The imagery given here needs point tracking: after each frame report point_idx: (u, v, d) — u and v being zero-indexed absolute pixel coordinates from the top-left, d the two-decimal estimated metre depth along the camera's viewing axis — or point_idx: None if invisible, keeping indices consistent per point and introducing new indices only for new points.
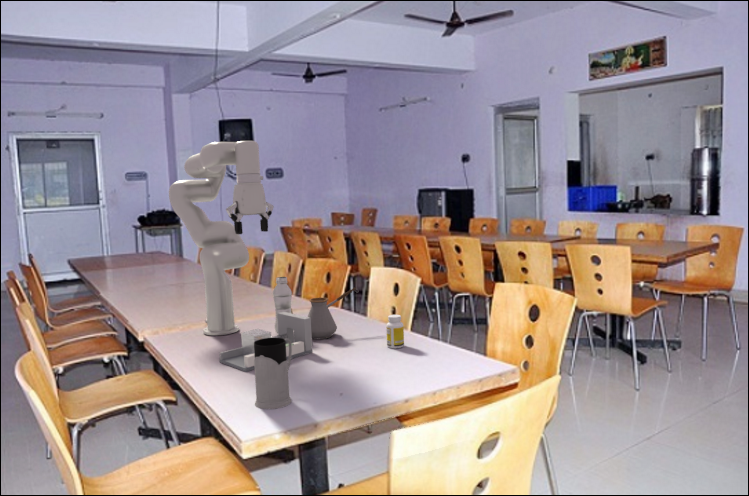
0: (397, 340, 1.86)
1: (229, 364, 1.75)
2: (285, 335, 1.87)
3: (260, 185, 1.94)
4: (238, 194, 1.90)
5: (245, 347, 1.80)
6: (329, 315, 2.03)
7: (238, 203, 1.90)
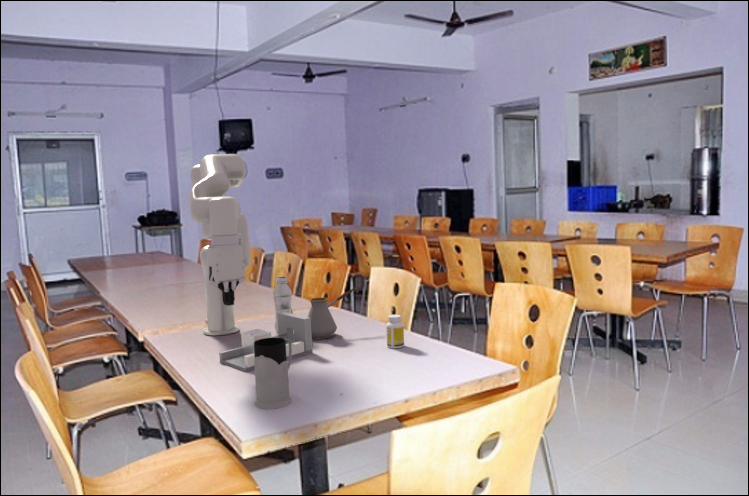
0: (397, 340, 1.86)
1: (229, 364, 1.75)
2: (285, 335, 1.87)
3: (238, 247, 1.71)
4: (212, 259, 1.67)
5: (245, 347, 1.80)
6: (329, 315, 2.03)
7: (212, 269, 1.67)
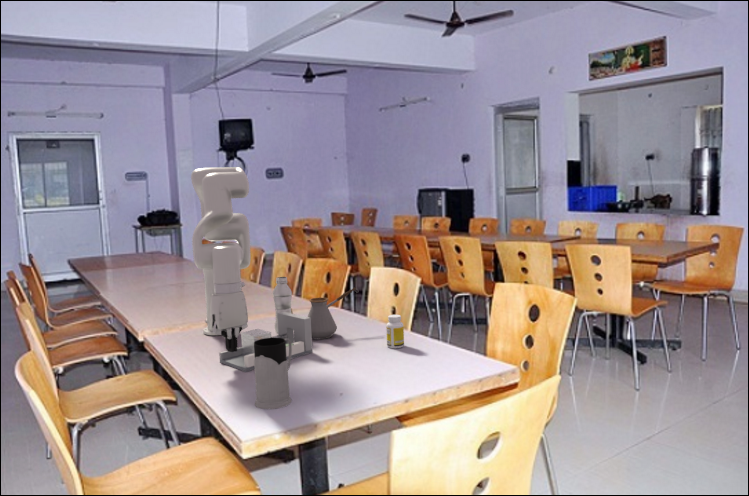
0: (397, 340, 1.86)
1: (229, 364, 1.75)
2: (285, 335, 1.87)
3: (241, 294, 1.73)
4: (215, 307, 1.69)
5: (245, 347, 1.80)
6: (329, 315, 2.03)
7: (215, 317, 1.69)
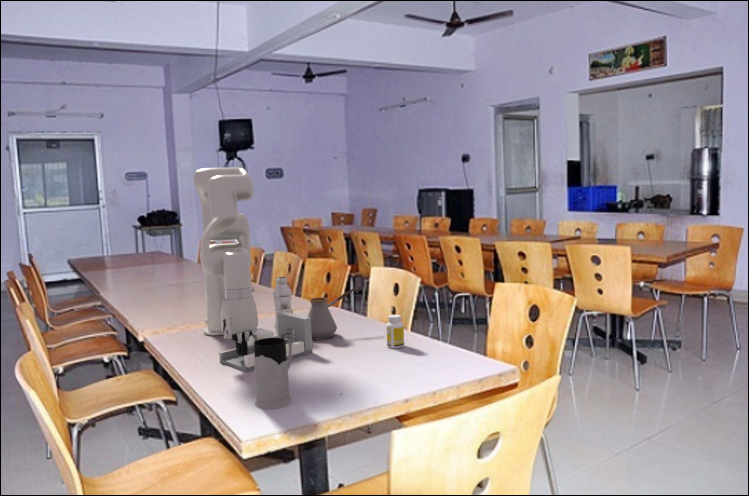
0: (397, 340, 1.86)
1: (229, 364, 1.75)
2: (288, 334, 1.87)
3: (251, 299, 1.75)
4: (226, 312, 1.71)
5: None
6: (329, 315, 2.03)
7: (226, 321, 1.72)
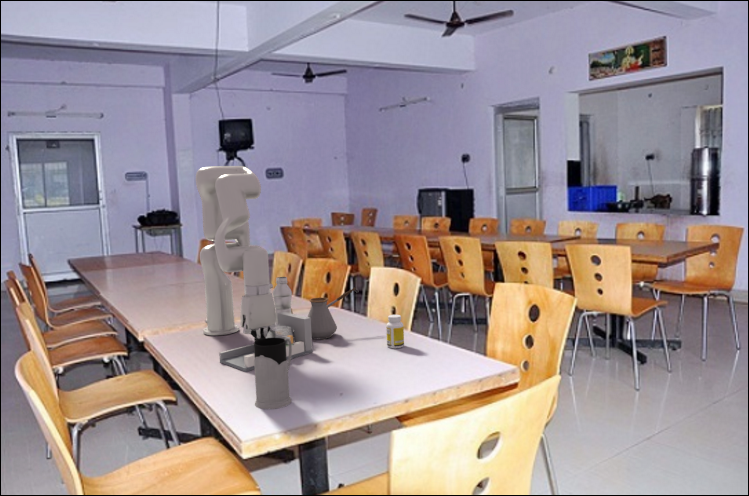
0: (397, 340, 1.86)
1: (229, 364, 1.75)
2: None
3: (269, 295, 1.80)
4: (246, 308, 1.76)
5: None
6: (329, 315, 2.03)
7: (246, 317, 1.76)
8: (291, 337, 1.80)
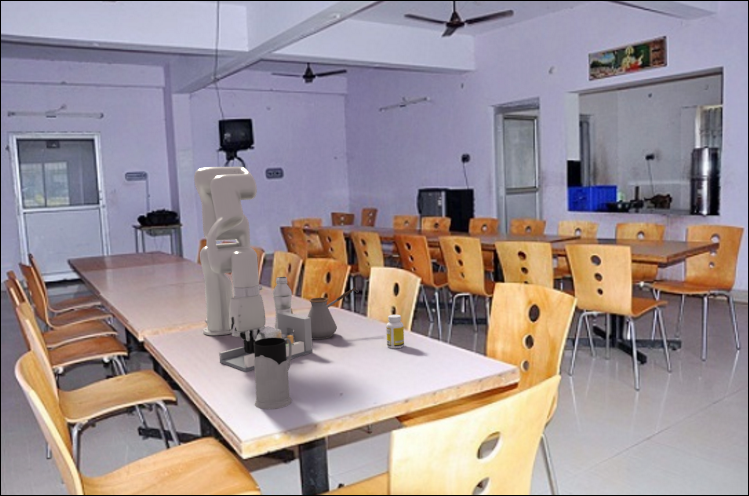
0: (397, 340, 1.86)
1: (229, 364, 1.75)
2: None
3: (259, 297, 1.77)
4: (235, 310, 1.73)
5: None
6: (329, 315, 2.03)
7: (235, 320, 1.73)
8: (291, 337, 1.80)
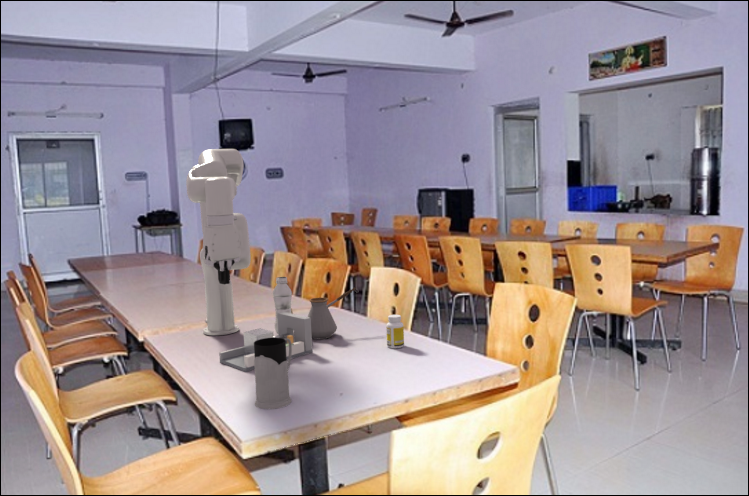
0: (397, 340, 1.86)
1: (229, 364, 1.75)
2: (287, 334, 1.87)
3: (233, 227, 1.74)
4: (208, 238, 1.70)
5: (247, 346, 1.80)
6: (329, 315, 2.03)
7: (208, 248, 1.70)
8: (291, 337, 1.80)
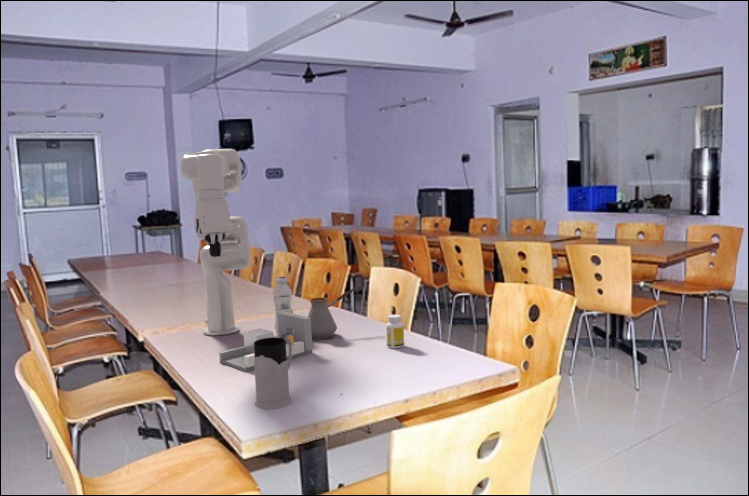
0: (397, 340, 1.86)
1: (229, 364, 1.75)
2: (287, 334, 1.87)
3: (224, 201, 1.81)
4: (199, 211, 1.77)
5: (247, 346, 1.80)
6: (329, 315, 2.03)
7: (199, 221, 1.77)
8: (291, 337, 1.80)
